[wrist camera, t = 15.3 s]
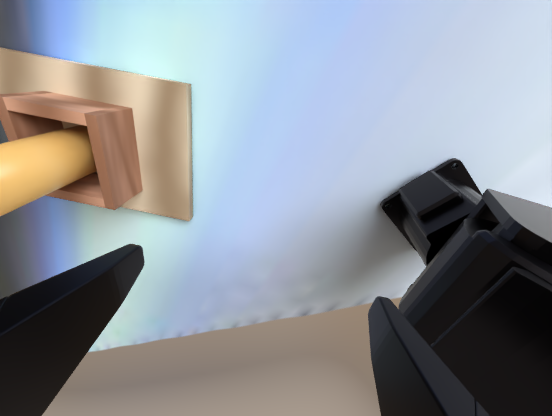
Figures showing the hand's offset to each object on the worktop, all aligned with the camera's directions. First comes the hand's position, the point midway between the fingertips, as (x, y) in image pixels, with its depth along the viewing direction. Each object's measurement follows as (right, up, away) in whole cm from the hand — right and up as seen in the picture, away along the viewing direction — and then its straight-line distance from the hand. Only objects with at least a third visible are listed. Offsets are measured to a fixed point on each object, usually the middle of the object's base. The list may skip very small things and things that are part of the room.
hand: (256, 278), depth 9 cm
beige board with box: (-14, +9, +12) cm, 21 cm away
